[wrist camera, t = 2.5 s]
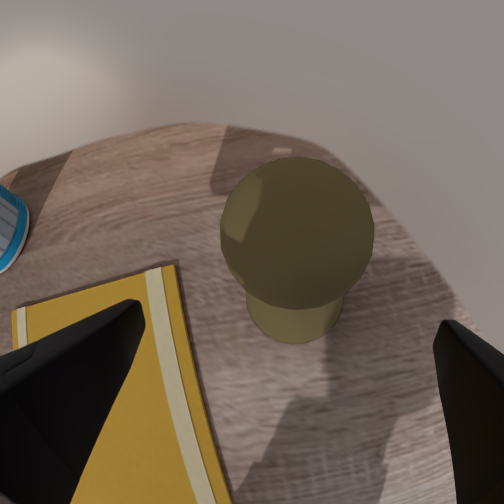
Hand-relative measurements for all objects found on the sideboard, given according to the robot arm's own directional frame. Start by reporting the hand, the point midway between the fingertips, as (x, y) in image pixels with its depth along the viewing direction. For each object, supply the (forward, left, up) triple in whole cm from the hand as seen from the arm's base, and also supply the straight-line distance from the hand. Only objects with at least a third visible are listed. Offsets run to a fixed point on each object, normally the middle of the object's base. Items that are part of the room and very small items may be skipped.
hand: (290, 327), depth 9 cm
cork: (+3, -1, -10) cm, 11 cm away
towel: (-3, +14, -10) cm, 17 cm away
